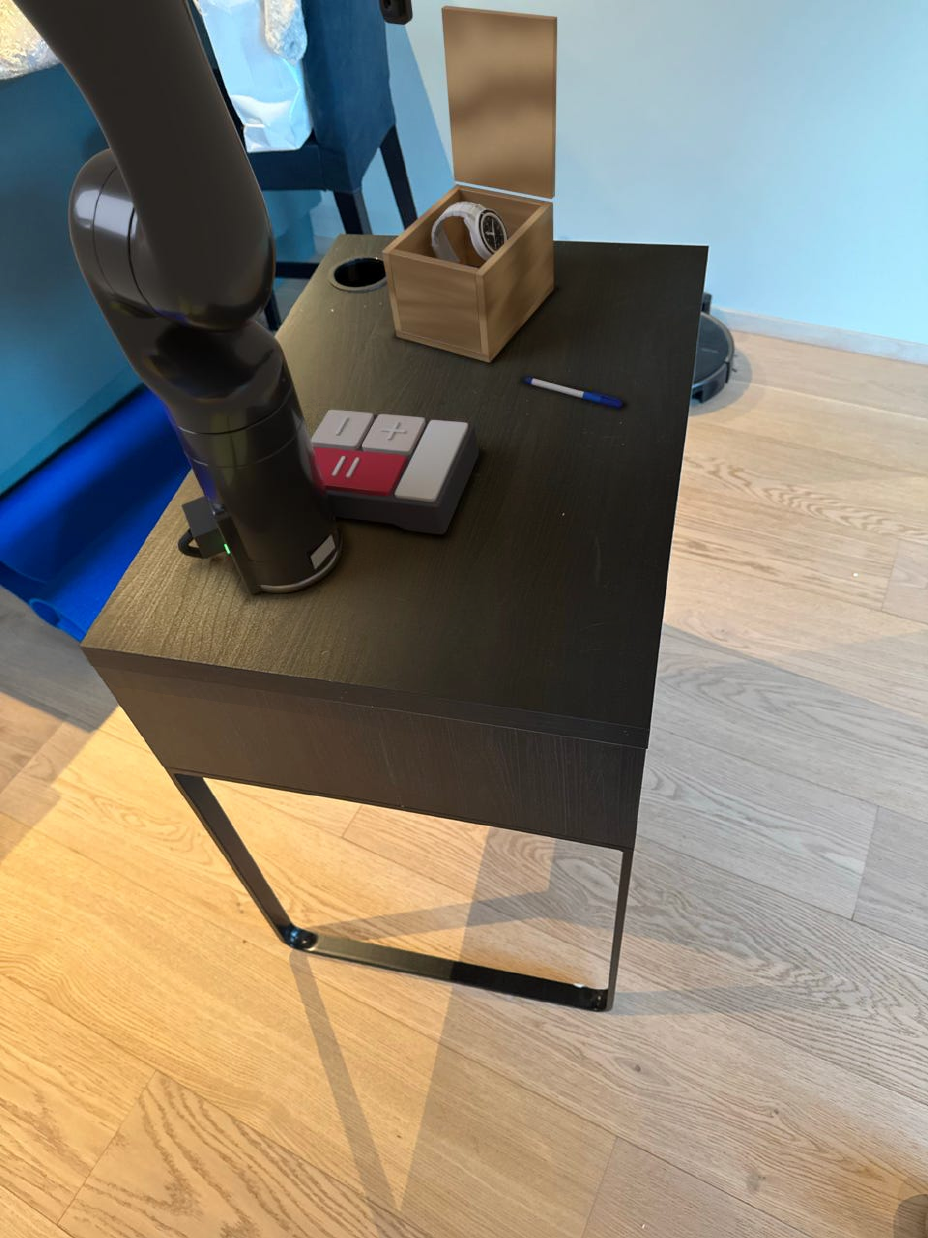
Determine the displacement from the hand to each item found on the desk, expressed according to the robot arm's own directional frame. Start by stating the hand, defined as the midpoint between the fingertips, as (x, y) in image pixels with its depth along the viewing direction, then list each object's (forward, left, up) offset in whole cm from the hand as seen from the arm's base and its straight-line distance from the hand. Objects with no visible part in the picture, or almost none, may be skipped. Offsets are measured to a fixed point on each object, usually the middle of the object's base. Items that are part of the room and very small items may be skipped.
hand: (429, 1), depth 63 cm
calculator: (-14, -12, -32) cm, 37 cm away
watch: (+5, +8, -31) cm, 33 cm away
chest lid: (+11, +12, -14) cm, 21 cm away
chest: (+5, +8, -32) cm, 33 cm away
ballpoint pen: (+7, -10, -33) cm, 35 cm away
